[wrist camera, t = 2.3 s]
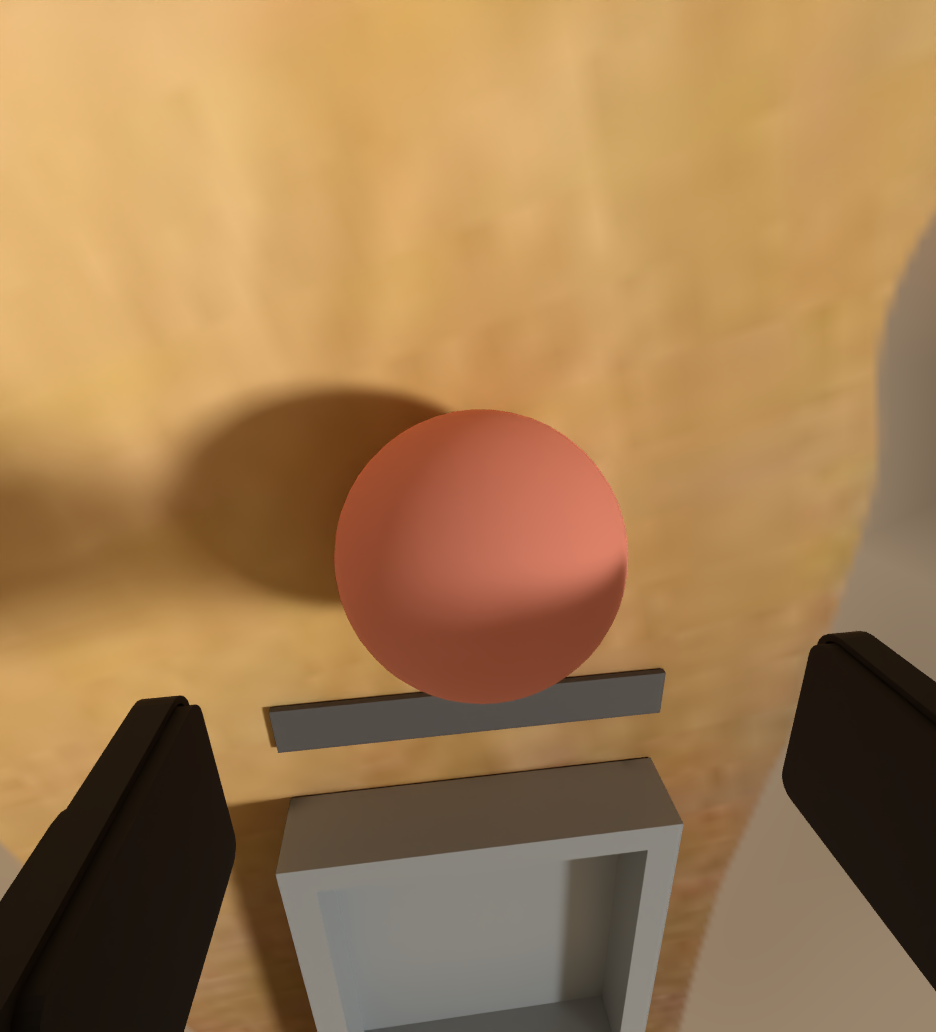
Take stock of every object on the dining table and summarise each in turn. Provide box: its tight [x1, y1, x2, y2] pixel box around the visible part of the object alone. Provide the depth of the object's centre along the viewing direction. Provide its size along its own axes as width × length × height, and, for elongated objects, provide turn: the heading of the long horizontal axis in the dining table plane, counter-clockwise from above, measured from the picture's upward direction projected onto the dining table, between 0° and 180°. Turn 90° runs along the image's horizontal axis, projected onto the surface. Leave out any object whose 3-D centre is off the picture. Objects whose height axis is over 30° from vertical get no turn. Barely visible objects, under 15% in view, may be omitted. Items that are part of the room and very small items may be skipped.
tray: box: [276, 758, 683, 1032], centre depth 21 cm, size 14×12×2 cm
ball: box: [334, 410, 628, 704], centre depth 12 cm, size 6×6×6 cm
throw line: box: [269, 669, 665, 753], centre depth 17 cm, size 2×12×1 cm, turn 92°
